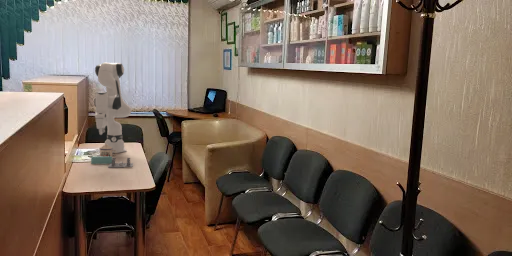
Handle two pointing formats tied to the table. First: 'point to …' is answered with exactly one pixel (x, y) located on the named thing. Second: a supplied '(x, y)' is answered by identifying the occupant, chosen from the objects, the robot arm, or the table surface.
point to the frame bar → (101, 159)
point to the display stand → (120, 164)
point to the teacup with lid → (106, 151)
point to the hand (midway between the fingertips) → (102, 133)
